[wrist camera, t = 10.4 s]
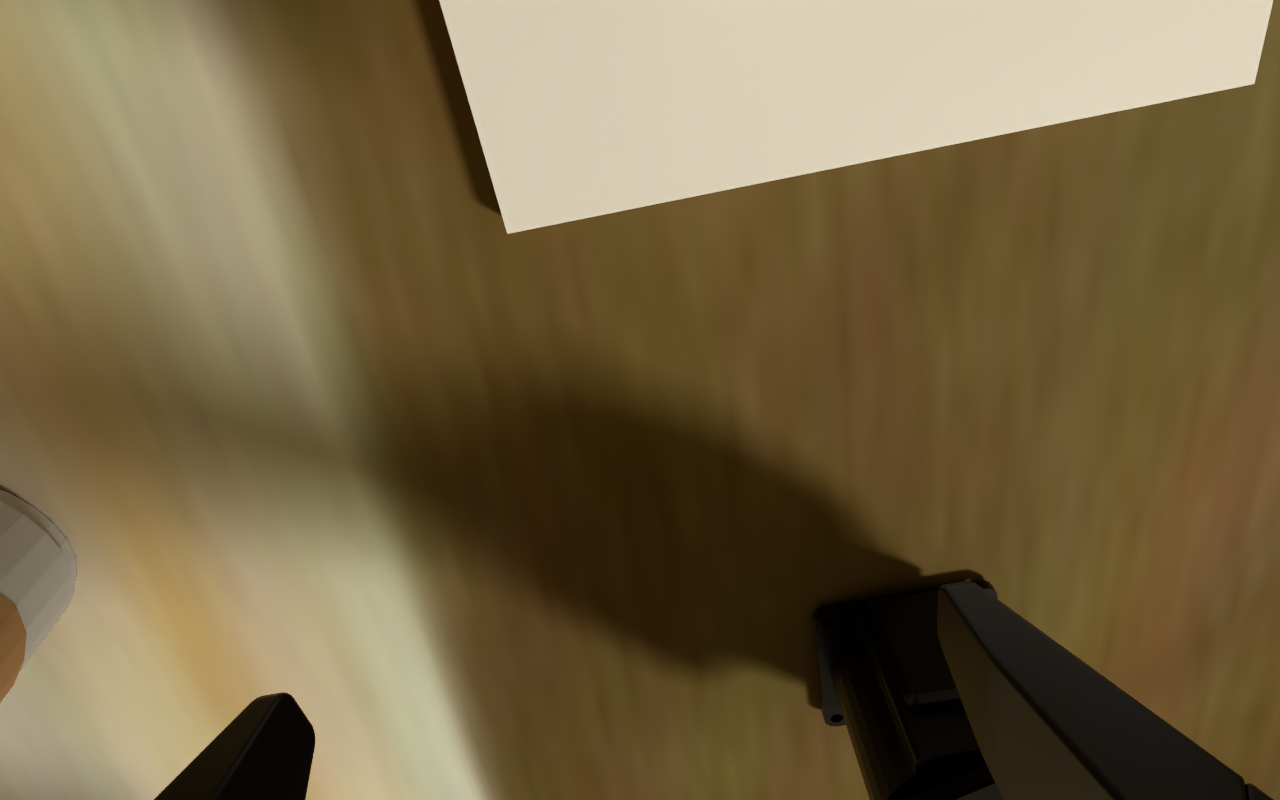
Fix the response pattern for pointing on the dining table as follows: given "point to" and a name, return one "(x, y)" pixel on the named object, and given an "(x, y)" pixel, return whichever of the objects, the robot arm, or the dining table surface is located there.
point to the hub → (803, 84)
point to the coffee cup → (29, 583)
